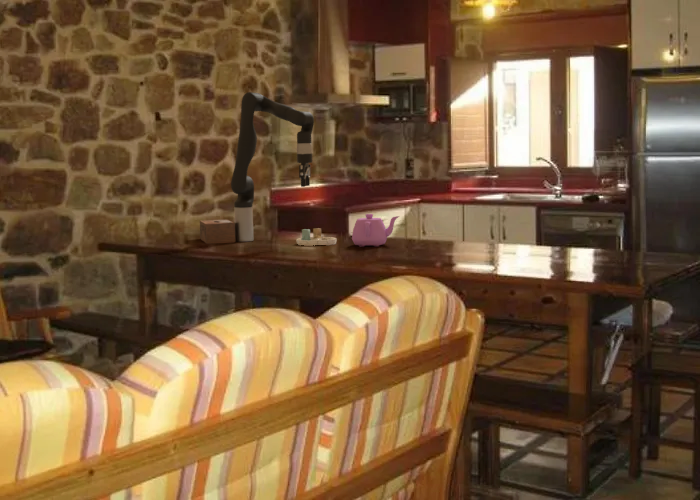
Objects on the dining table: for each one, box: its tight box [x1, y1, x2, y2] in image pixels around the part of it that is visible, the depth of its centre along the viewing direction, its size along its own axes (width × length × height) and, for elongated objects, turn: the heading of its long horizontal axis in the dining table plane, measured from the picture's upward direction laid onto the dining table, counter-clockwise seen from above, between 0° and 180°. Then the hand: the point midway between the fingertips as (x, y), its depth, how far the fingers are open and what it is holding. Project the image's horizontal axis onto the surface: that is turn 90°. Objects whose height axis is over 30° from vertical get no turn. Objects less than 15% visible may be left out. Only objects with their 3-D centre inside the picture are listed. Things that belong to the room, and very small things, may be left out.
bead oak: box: [312, 227, 322, 238], centre depth 464 cm, size 4×4×6 cm
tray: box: [296, 236, 338, 247], centre depth 459 cm, size 19×19×2 cm
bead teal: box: [301, 228, 311, 240], centre depth 459 cm, size 4×4×6 cm
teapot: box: [351, 213, 400, 247], centre depth 445 cm, size 23×21×15 cm
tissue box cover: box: [199, 219, 236, 245], centre depth 484 cm, size 26×14×10 cm, turn 16°
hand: (305, 186), depth 458 cm, fingers open, 8 cm apart
